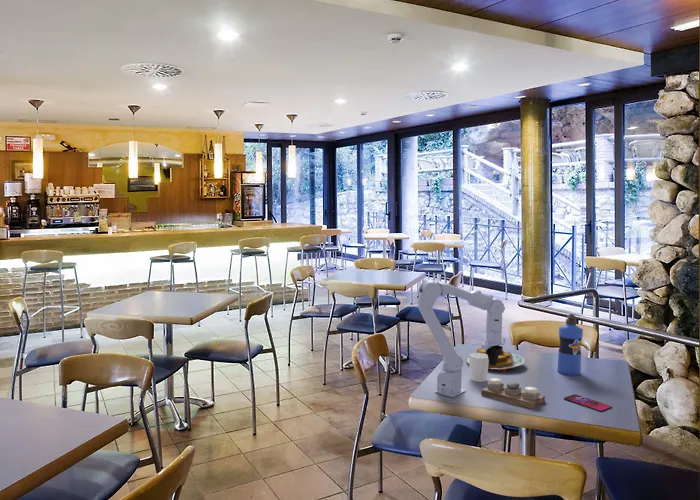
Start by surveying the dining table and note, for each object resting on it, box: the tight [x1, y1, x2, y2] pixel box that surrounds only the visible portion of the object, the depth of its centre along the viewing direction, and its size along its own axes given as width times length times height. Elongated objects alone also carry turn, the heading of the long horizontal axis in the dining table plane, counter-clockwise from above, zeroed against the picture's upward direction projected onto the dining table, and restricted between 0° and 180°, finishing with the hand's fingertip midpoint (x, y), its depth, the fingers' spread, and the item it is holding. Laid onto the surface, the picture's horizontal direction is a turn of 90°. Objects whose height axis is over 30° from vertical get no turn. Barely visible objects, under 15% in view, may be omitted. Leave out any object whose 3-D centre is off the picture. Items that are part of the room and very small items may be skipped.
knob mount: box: [481, 381, 546, 409], centre depth 206 cm, size 10×20×5 cm, turn 47°
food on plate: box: [465, 347, 526, 373], centre depth 247 cm, size 25×25×7 cm
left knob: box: [489, 377, 503, 385], centre depth 210 cm, size 4×4×3 cm
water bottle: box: [557, 313, 584, 377], centre depth 236 cm, size 9×9×25 cm
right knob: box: [524, 386, 539, 394], centre depth 201 cm, size 4×4×3 cm
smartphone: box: [563, 393, 613, 413], centre depth 201 cm, size 8×1×15 cm
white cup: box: [468, 352, 489, 383], centre depth 226 cm, size 8×8×10 cm
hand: (492, 364), depth 212 cm, fingers closed
